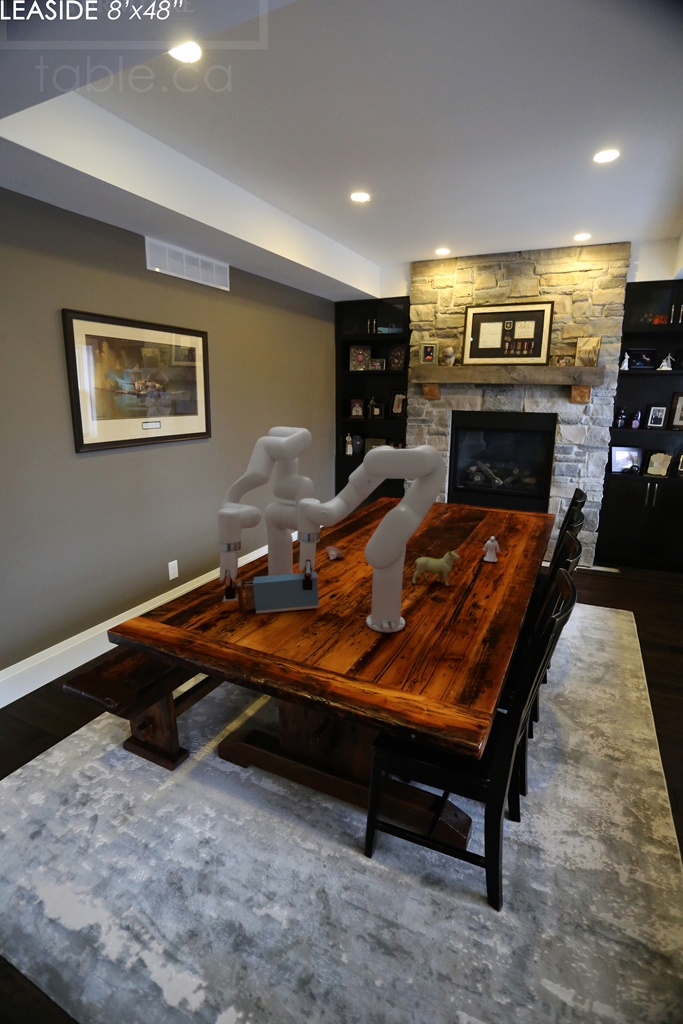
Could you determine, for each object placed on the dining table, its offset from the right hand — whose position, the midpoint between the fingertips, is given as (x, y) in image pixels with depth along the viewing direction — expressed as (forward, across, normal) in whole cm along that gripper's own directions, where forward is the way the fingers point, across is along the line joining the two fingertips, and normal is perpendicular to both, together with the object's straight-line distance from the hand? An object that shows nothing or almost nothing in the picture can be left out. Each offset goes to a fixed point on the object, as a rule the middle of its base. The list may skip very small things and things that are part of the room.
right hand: (307, 585), depth 171 cm
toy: (+7, -20, +51) cm, 55 cm away
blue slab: (+8, 0, -6) cm, 10 cm away
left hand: (+4, +2, -26) cm, 26 cm away
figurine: (+7, -46, +83) cm, 96 cm away
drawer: (+8, +1, -15) cm, 17 cm away
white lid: (+9, -51, +13) cm, 53 cm away
